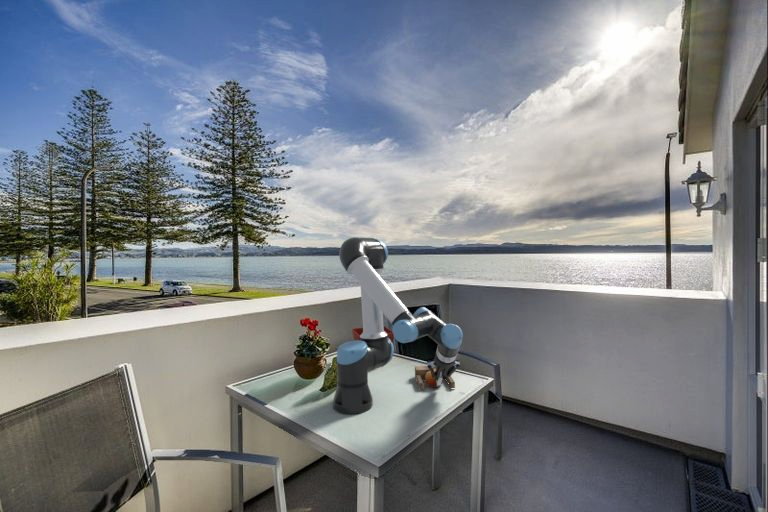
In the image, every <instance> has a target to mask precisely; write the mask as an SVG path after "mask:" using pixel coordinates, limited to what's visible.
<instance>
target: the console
mask: <svg viewBox="0 0 768 512" xmlns="http://www.w3.org/2000/svg"><path fill="white" fill-rule="evenodd" d="M433 368H434V369H436V368H435V365H434V366H433ZM429 371H430V369H429V368H428V366H427V365H420V366H419V365H418V366H417V365H415V366H414V378H415V379H416V374H420V377H421V379H422V380H425V375H426V373H427V372H429ZM441 372H442V371H441Z"/></svg>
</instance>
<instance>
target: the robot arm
mask: <svg viewBox="0 0 768 512" xmlns="http://www.w3.org/2000/svg"><path fill="white" fill-rule="evenodd" d="M339 248H340V249H339V253H338V255H339V256H338V257H339V261H340V263H341V266H342V267H343V268H344V270H345V272H346V273H347V274H348V275H350V276H353V277H354V278H355V280H356V281H357V282H358V283H359V285H360V295H361V296H360V299H361V312H362V313H361V315H362V317H361V318H362V328H363V333H362V334H361V335H360V340H354V339H353V340H352V341H351V340H350V341H346V342H343V343H342V344H340V345H339V346H338V348H337V350H336V377H337V379H336V381H337V385H336V390H335V393H334V395H333V400H332V407H333V409H334V411H336V412H338V413H341V414H346V415H356V414H360V413H364V412H368V411H369V410H370V409H371V408H372V407H373V406H374V405H373V403H374V402H373V396H372V395H373V394H372V393H371V389H370V386H369V379H368V378H369V377H368V375H369V374H368V373H370V372H372V371H375V370H377V369H379V368H383V367H385V366H386V365H387V364H389V363H390V362H391V361H392V359H393V357H394V354H395V353H394V352H395V348H394V347H395V346H394V342H393V343H392V342H391V340H390V339H389V338H388V334H387V333H386V332H385V331H384V327H383V326H384V316H385V318H386V319H387V320H388V322H389V323H390V324H391V325H392V331H393V334H394V340H396V341H397V342H399V343H401V344H406V343H412V342H414V341H416V340H418V339H420V338H423V337H426V336H428V337H429V338H430V339H431V340H432V341H433V342H435V343H436V344H437V346H436V347H437V348H436V351H435V356H434V359H433V360H432V361H430V360H427V361H426V366H428V368H429V369H430V372H431V375H432V377H433V378H434V377H435V381H436V382H437V385H440V386H442V384H441V382H442V383H443V381H446V380H445V379H446V376H447V377H450V376H451V377H452V375H453V374H454V373H455V372H456V370H457V369H458V368H460V367H461V364H460V360H459V359H457V357H458V354H459V351H460V348H461V345H462V344H463V343H462V342H463V338H464V334H463V330H462V328H461V327H460V326H458V325H457V324H453V323H445V322H444V320H442V319H441V318H439V317H438V316H437V315H436V314H435V313H434V312H433V311H432V310H429V309H428V308H426V307H425V306H421V307H419V308H418V309H417V310H416V311H414V313H412V312H410V310H409V309H408V308H407V306H405V304H404V303H403V302H402V300H401V299H400V298H399V297H398V296H397V294H396V293H394V291H393V290H392V288H390V287H389V285H388V284H387V283H386V281H385V280H384V279H383V278H382V277H381V273H382V272H383V271H384V268H385V267H384V264H385V263H387V262H386V261H387V260H388V258H389V250H388V248H387V245H386V243H384V242H383V241H382V240H381V239H378V238H375V237H374V238H373V237H350V238H347V239H345V240H344V241H343V243H342V244H341V246H340V247H339ZM433 366H436V367H437V368H436V370H435V372H434V368H433ZM441 371H442V372H441ZM442 380H443V381H442Z"/></svg>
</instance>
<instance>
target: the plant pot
mask: <svg viewBox="0 0 768 512" xmlns="http://www.w3.org/2000/svg"><path fill="white" fill-rule="evenodd" d="M383 327H384V331H385V332H386V333H387V334H388V338H389V339H390V340H391V342H392V343H393V344H394V340H395V337H394V334H393V330H391V329H390V328H388V327H387V326H386V325H383ZM351 330H352V332H351V333H352V336H353V341H354V340H360V335H361V334H362V333H363V327H357V328H355V327H354V328H352V329H351Z"/></svg>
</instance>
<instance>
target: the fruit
mask: <svg viewBox="0 0 768 512" xmlns="http://www.w3.org/2000/svg"><path fill="white" fill-rule="evenodd" d="M435 370H436V369H434V372H435ZM443 381H444V380H442V382H441V385H443ZM424 382H425V383H426V385H428V386H429V387H430V388H441V385H437V382H436V381H435V377H434V378H433V377H432V375H431V372H430V371H429V372H427V373H426V375H425V381H424Z"/></svg>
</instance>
